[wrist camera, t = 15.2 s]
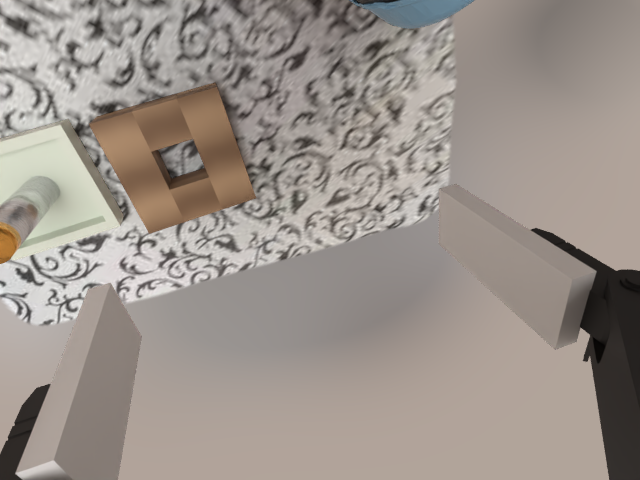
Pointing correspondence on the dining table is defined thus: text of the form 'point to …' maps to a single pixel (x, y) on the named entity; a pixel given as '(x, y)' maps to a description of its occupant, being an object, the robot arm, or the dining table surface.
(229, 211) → the dining table surface
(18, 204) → the clear capped vial
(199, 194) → the block
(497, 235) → the robot arm
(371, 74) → the dining table surface
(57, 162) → the tray
